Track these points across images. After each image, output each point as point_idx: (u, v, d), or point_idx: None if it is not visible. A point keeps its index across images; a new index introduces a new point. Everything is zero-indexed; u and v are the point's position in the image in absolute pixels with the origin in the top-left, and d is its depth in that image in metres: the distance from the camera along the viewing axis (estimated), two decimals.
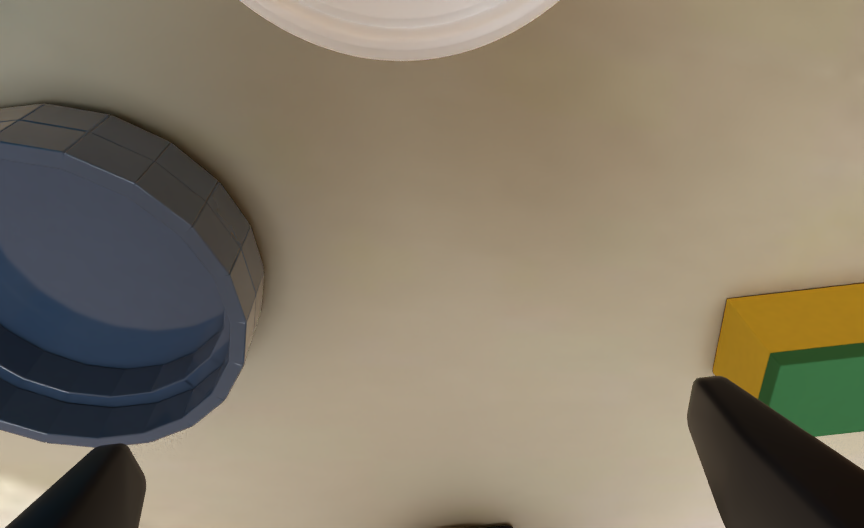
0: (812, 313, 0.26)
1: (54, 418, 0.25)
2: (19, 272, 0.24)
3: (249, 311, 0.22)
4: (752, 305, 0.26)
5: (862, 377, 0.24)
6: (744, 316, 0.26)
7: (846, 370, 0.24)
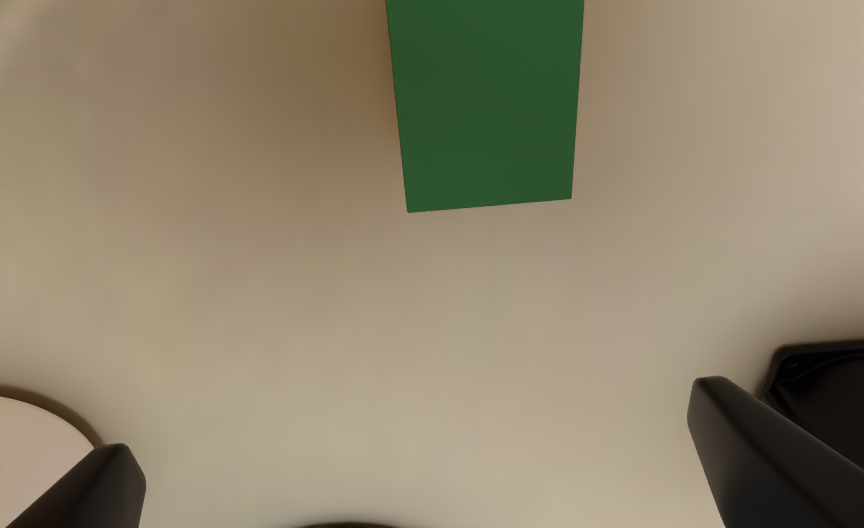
0: None
1: None
2: None
3: None
4: None
5: (441, 80, 0.14)
6: None
7: (423, 113, 0.15)
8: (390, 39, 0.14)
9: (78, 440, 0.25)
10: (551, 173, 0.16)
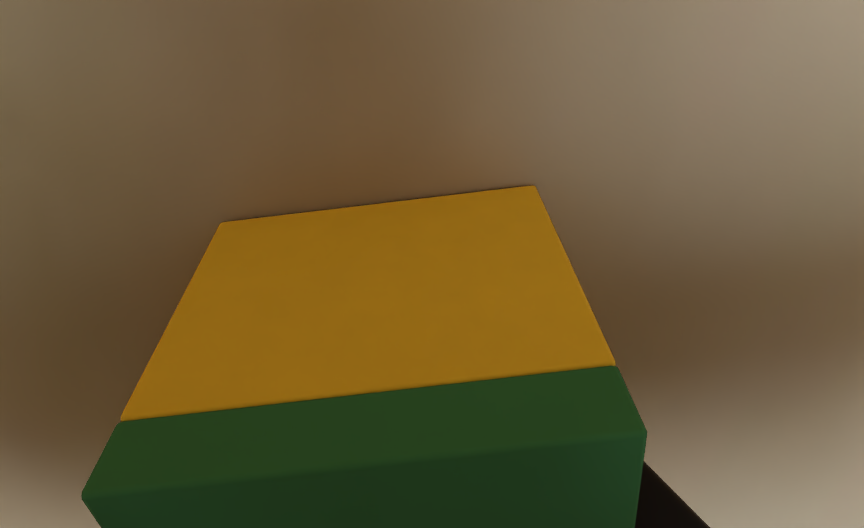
0: None
1: None
2: None
3: None
4: None
5: None
6: None
7: None
8: None
9: None
10: None
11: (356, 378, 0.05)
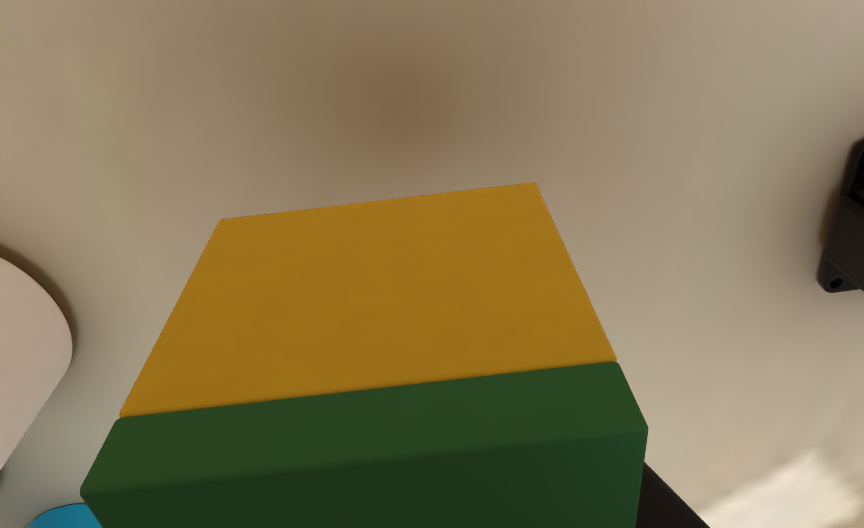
0: None
1: None
2: None
3: None
4: None
5: None
6: None
7: None
8: None
9: (36, 291, 0.22)
10: None
11: (357, 374, 0.05)
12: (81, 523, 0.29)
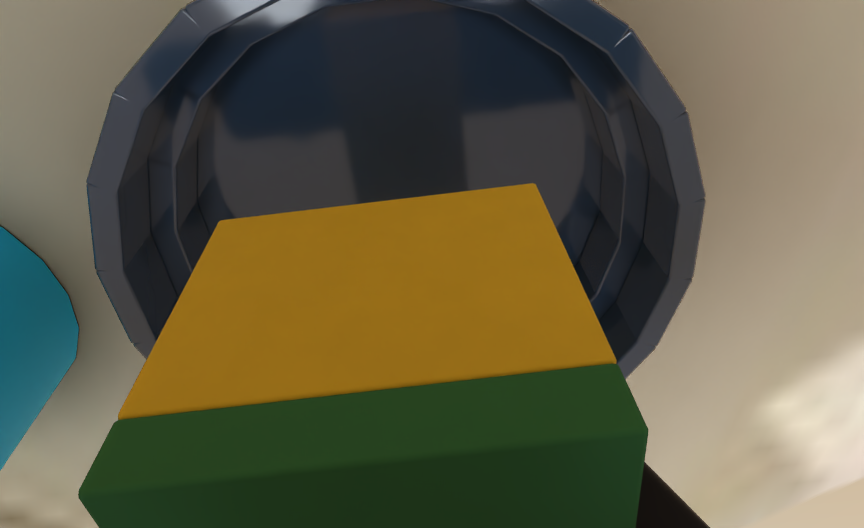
0: None
1: (625, 323, 0.15)
2: None
3: None
4: None
5: None
6: None
7: None
8: None
9: None
10: None
11: (355, 376, 0.05)
12: None
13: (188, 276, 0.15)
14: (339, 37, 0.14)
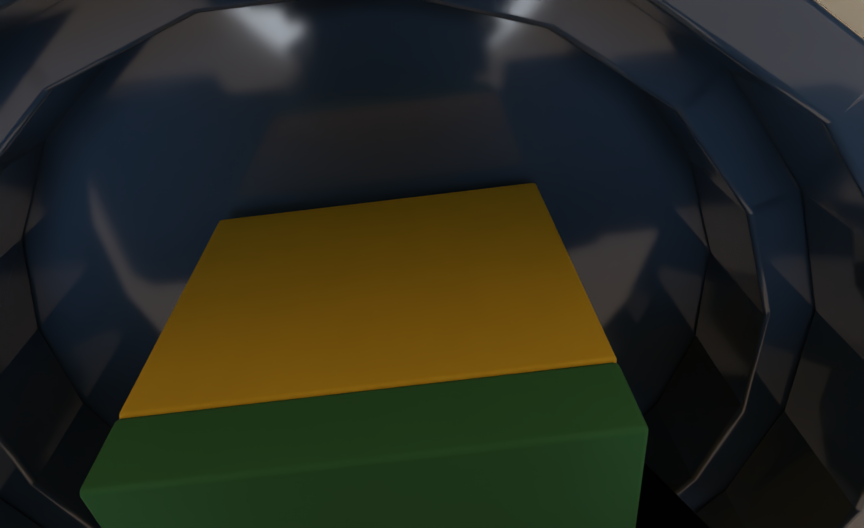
0: None
1: None
2: None
3: None
4: None
5: None
6: None
7: None
8: None
9: None
10: None
11: (357, 376, 0.05)
12: None
13: (10, 467, 0.09)
14: (255, 66, 0.08)
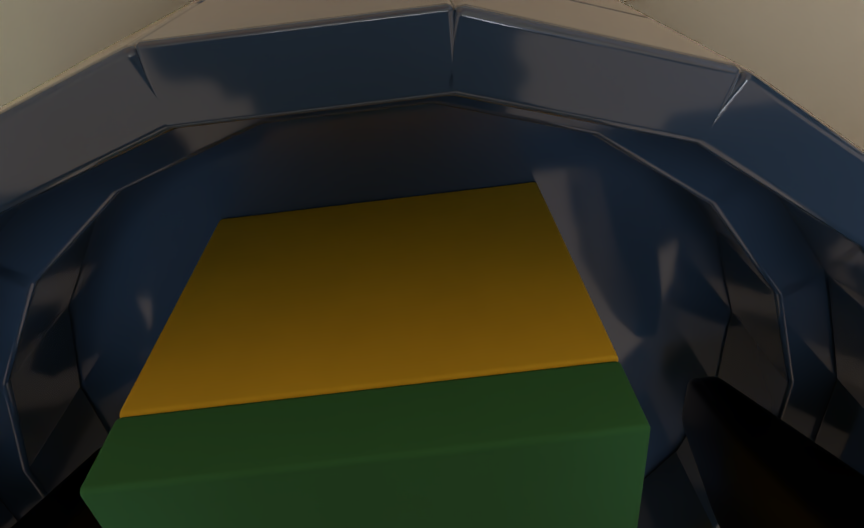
0: None
1: None
2: None
3: None
4: None
5: None
6: None
7: None
8: None
9: None
10: None
11: (357, 374, 0.05)
12: None
13: None
14: (300, 147, 0.08)
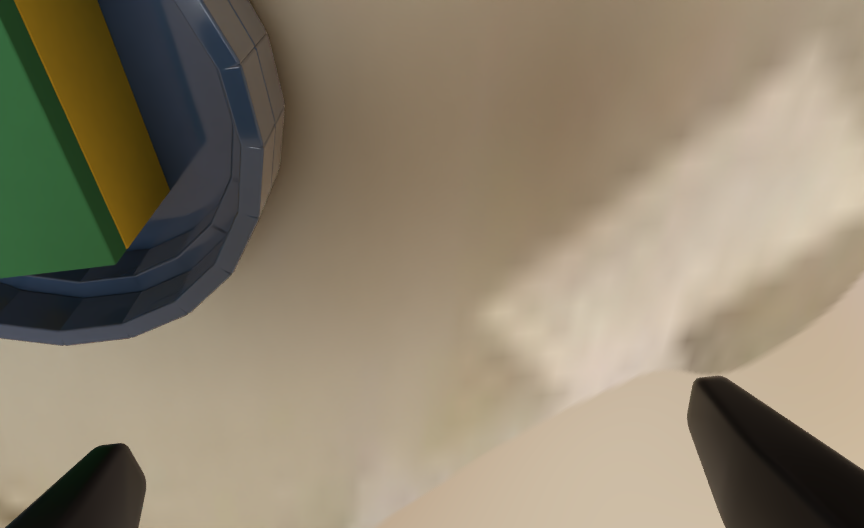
0: None
1: None
2: None
3: None
4: None
5: None
6: None
7: None
8: None
9: None
10: (81, 241, 0.15)
11: None
12: None
13: None
14: None
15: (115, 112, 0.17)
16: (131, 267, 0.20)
